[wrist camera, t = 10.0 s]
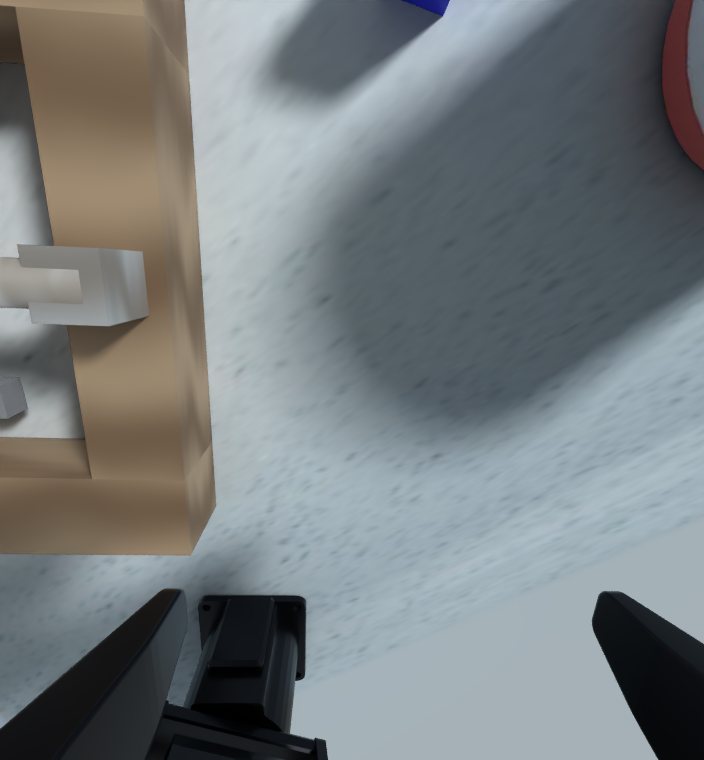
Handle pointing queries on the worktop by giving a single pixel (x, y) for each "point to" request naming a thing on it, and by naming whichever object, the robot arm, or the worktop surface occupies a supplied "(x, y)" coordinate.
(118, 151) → the wooden picture frame
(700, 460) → the worktop surface
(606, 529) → the worktop surface
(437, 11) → the cable clip
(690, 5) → the citrus juicer
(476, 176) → the worktop surface
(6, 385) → the orange staple arch
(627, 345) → the worktop surface
